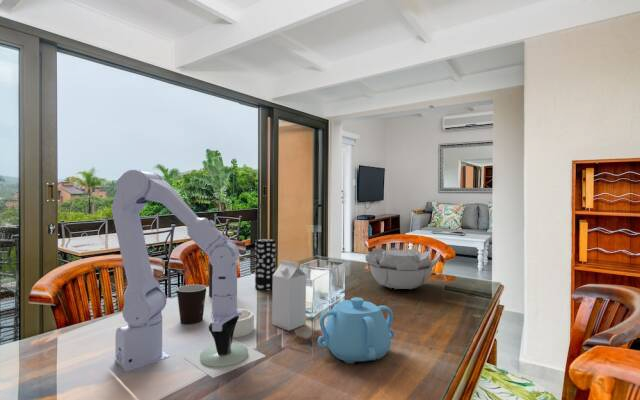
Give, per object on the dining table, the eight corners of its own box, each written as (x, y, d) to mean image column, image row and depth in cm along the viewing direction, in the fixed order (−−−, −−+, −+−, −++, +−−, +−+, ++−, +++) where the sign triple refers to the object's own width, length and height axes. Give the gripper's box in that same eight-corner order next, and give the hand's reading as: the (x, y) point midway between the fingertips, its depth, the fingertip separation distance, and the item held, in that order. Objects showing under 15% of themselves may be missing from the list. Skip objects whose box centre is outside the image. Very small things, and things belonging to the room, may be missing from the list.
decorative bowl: (351, 281, 159) (352, 248, 159) (409, 277, 168) (409, 246, 168) (383, 300, 130) (383, 260, 130) (451, 294, 139) (451, 256, 139)
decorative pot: (370, 378, 75) (371, 314, 75) (310, 356, 85) (311, 300, 84) (400, 351, 88) (401, 297, 88) (346, 335, 98) (346, 286, 98)
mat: (213, 380, 74) (213, 377, 74) (182, 358, 83) (182, 356, 83) (266, 357, 84) (266, 355, 84) (233, 341, 93) (233, 339, 93)
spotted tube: (252, 286, 148) (253, 239, 148) (271, 284, 152) (272, 238, 152) (258, 291, 141) (258, 241, 141) (278, 289, 144) (278, 240, 144)
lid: (216, 372, 76) (216, 352, 76) (191, 356, 83) (191, 338, 83) (257, 355, 84) (257, 337, 84) (231, 342, 91) (231, 325, 91)
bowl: (229, 342, 93) (230, 323, 93) (210, 332, 99) (210, 314, 99) (260, 332, 100) (260, 314, 100) (240, 323, 107) (240, 306, 107)
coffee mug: (196, 326, 103) (196, 292, 103) (170, 324, 105) (170, 290, 105) (216, 313, 115) (216, 283, 114) (192, 311, 116) (192, 281, 116)
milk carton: (288, 319, 110) (289, 258, 110) (305, 324, 106) (306, 261, 105) (271, 325, 105) (272, 261, 104) (289, 331, 100) (289, 264, 100)
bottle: (222, 298, 132) (222, 244, 132) (205, 297, 133) (205, 244, 133) (229, 293, 139) (230, 242, 138) (213, 292, 140) (214, 241, 140)
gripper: (235, 302, 76) (235, 364, 76) (247, 285, 91) (246, 337, 91) (202, 302, 76) (202, 365, 76) (219, 285, 90) (219, 337, 91)
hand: (224, 350), depth 83 cm, fingers closed on lid, 3 cm apart
